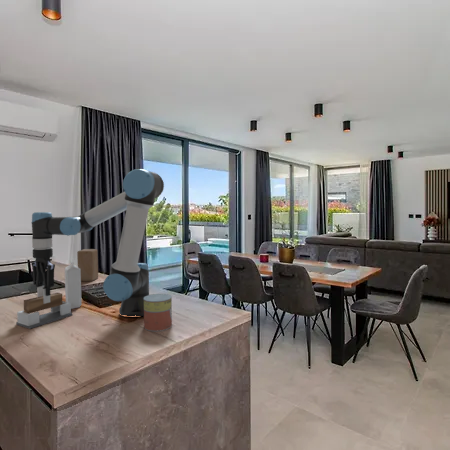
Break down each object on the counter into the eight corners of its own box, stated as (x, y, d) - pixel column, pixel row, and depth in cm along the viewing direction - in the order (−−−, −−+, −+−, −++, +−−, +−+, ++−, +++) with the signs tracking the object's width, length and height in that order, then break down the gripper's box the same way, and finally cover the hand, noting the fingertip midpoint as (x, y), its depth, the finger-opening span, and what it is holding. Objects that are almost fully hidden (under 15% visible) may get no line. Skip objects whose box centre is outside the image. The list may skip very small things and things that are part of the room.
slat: (62, 304, 149) (62, 293, 149) (28, 313, 136) (28, 301, 136) (57, 303, 151) (57, 292, 151) (23, 312, 138) (23, 300, 138)
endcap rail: (72, 315, 150) (72, 303, 149) (30, 328, 133) (29, 315, 133) (58, 311, 155) (58, 300, 154) (16, 324, 138) (15, 311, 138)
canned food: (173, 329, 132) (173, 299, 131) (144, 332, 129) (144, 302, 128) (170, 320, 143) (169, 292, 142) (143, 323, 140) (142, 294, 139)
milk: (68, 309, 158) (66, 263, 157) (65, 306, 163) (63, 261, 162) (82, 306, 162) (80, 262, 161) (78, 303, 167) (77, 260, 165)
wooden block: (92, 281, 216) (91, 251, 215) (77, 281, 216) (76, 251, 215) (98, 278, 226) (97, 248, 225) (84, 278, 226) (83, 249, 225)
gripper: (62, 248, 141) (63, 302, 143) (39, 245, 150) (41, 297, 151) (45, 250, 135) (47, 307, 136) (22, 247, 143) (24, 301, 145)
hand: (43, 301), depth 144 cm, fingers closed on slat, 3 cm apart
